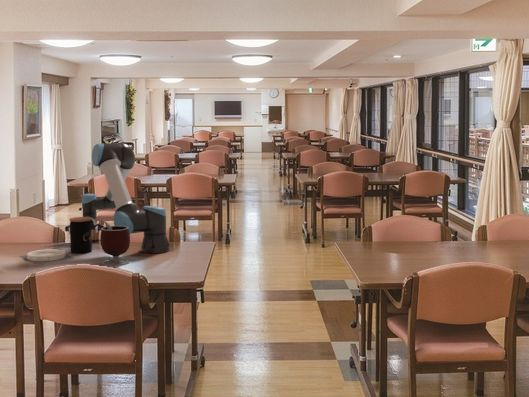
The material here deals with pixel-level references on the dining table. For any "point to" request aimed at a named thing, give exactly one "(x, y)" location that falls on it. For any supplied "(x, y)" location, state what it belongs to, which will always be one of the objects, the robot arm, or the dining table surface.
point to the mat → (46, 261)
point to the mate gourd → (115, 243)
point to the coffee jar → (80, 235)
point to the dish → (46, 255)
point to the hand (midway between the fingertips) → (82, 230)
